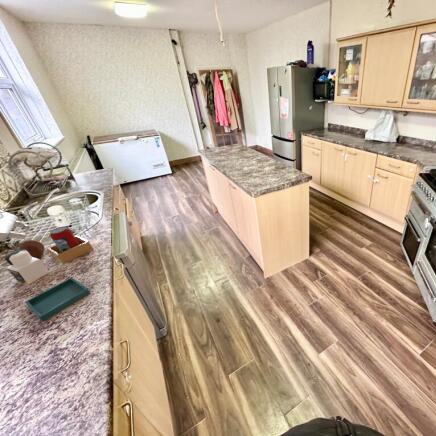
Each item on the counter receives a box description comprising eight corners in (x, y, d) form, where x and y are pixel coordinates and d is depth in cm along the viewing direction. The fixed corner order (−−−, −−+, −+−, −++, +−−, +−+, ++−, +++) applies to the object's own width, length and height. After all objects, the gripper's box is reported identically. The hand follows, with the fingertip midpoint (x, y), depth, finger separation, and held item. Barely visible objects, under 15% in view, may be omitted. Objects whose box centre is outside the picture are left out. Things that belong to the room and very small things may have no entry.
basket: (62, 263, 100) (57, 255, 98) (52, 256, 105) (46, 248, 103) (93, 249, 108) (88, 241, 106) (82, 242, 114) (77, 235, 111)
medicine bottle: (17, 281, 91) (-4, 257, 86) (39, 269, 97) (21, 246, 91) (28, 285, 89) (8, 260, 83) (50, 272, 95) (32, 249, 89)
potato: (25, 265, 100) (13, 250, 96) (24, 254, 107) (13, 240, 103) (49, 257, 105) (38, 242, 101) (47, 247, 112) (37, 233, 108)
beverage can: (59, 255, 104) (43, 233, 99) (74, 246, 110) (60, 225, 104) (70, 257, 103) (55, 234, 97) (85, 248, 109) (72, 226, 103)
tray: (42, 321, 74) (39, 317, 73) (27, 306, 80) (24, 301, 79) (90, 293, 84) (87, 288, 83) (74, 281, 90) (71, 276, 89)
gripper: (-29, 222, 78) (28, 235, 88) (-13, 204, 93) (35, 217, 103) (-40, 238, 78) (19, 249, 88) (-22, 217, 92) (27, 229, 102)
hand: (27, 232), depth 95 cm, fingers open, 8 cm apart
